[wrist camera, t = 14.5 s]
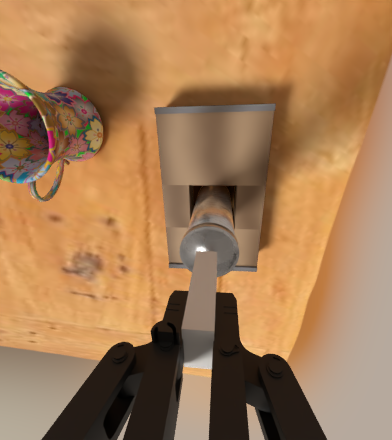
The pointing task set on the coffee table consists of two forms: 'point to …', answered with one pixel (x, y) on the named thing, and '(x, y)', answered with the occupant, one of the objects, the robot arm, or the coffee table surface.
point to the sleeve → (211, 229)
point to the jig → (215, 168)
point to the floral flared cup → (44, 132)
